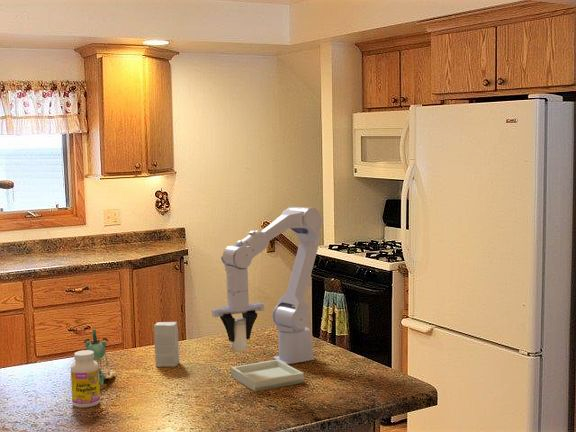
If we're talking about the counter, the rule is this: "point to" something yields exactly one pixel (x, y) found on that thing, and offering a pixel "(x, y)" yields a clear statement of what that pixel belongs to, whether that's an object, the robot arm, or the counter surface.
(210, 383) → the counter surface
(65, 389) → the counter surface
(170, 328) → the skincare box
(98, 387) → the supplement bottle
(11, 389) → the counter surface
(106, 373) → the frog figurine
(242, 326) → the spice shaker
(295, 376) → the tray
